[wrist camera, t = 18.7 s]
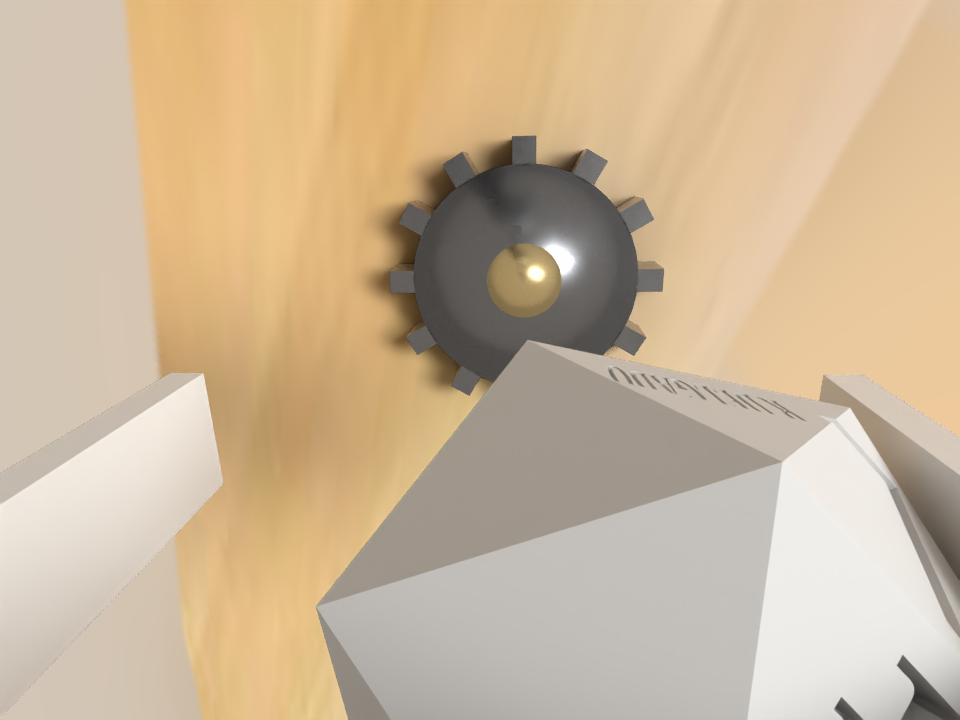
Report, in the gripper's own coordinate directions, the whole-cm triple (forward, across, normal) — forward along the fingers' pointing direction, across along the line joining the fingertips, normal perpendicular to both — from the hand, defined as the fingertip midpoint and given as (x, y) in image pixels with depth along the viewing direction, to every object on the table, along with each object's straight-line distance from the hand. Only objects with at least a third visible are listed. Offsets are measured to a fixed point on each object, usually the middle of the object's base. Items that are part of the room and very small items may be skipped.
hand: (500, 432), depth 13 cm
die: (+1, +3, -1) cm, 3 cm away
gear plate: (+23, 0, -1) cm, 23 cm away
